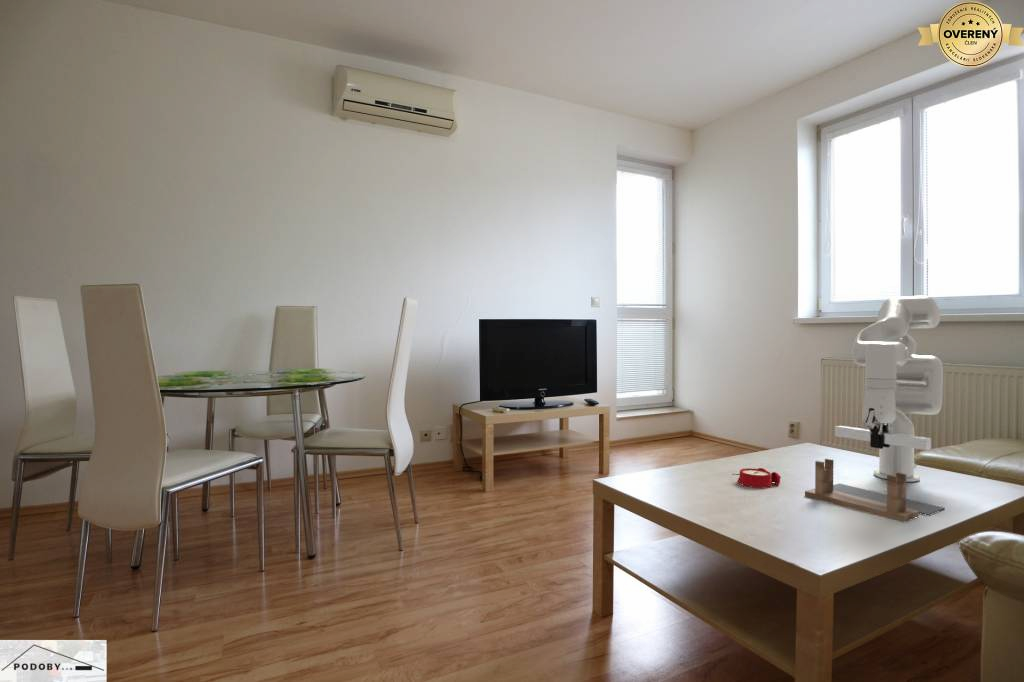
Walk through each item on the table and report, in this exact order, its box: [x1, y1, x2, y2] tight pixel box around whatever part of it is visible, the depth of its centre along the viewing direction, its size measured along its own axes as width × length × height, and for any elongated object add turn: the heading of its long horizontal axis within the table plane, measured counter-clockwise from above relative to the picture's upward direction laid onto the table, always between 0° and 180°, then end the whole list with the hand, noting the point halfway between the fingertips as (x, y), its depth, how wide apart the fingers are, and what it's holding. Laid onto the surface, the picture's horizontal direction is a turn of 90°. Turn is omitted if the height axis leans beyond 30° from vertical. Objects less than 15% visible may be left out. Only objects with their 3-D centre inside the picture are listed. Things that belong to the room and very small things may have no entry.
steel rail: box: [834, 425, 932, 451], centre depth 157 cm, size 3×24×3 cm, turn 31°
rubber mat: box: [833, 483, 945, 516], centre depth 157 cm, size 10×28×1 cm, turn 31°
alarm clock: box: [732, 467, 782, 489], centre depth 174 cm, size 10×6×15 cm
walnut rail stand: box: [804, 458, 920, 523], centre depth 151 cm, size 8×26×11 cm, turn 31°
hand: (880, 446), depth 157 cm, fingers closed on steel rail, 3 cm apart
